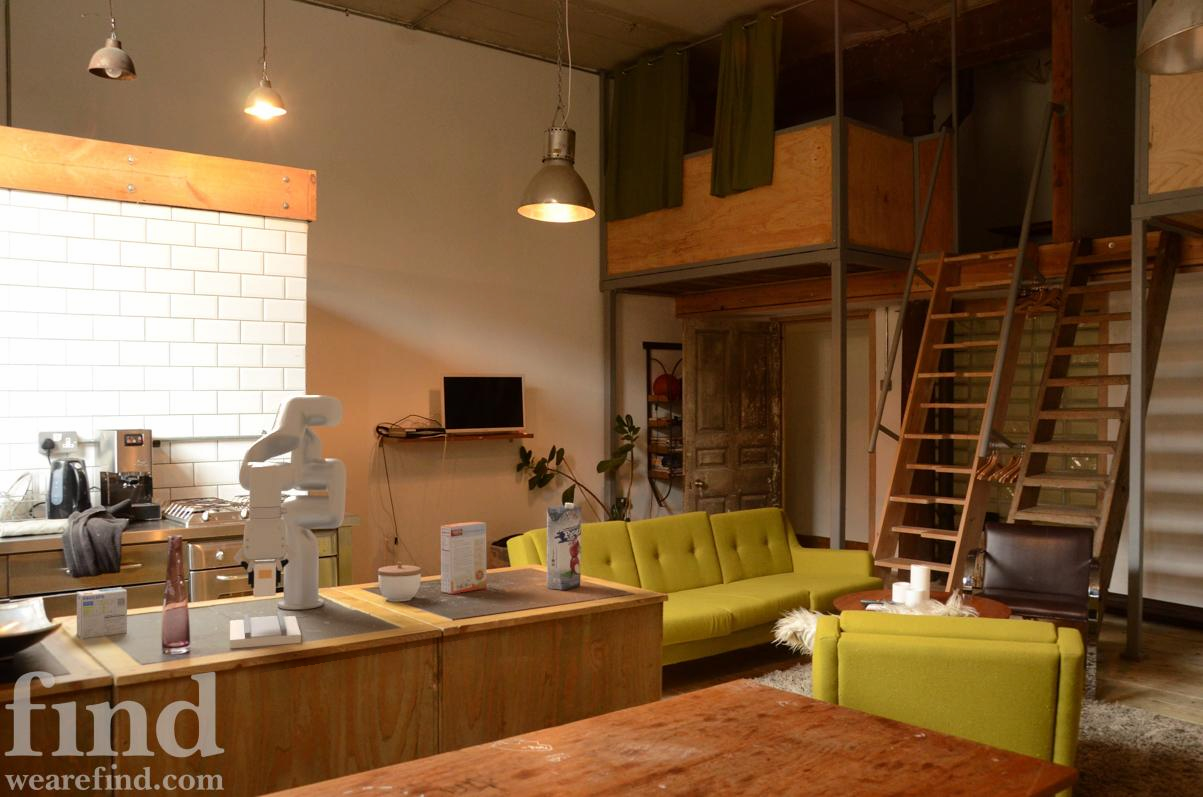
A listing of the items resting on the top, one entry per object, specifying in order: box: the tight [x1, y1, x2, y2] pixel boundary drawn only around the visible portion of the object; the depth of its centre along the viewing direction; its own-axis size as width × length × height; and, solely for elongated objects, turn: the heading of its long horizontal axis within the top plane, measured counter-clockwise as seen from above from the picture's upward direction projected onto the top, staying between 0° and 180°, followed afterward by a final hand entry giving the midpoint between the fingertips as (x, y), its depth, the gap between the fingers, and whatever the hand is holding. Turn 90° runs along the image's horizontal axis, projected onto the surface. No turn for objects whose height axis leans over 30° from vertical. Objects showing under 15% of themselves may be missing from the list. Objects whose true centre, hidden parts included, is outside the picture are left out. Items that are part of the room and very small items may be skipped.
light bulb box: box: [76, 586, 128, 639], centre depth 240 cm, size 11×7×11 cm, turn 129°
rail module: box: [252, 559, 277, 598], centre depth 238 cm, size 7×5×8 cm
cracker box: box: [440, 521, 487, 595], centre depth 298 cm, size 14×6×21 cm, turn 136°
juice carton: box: [546, 502, 582, 591], centre depth 304 cm, size 9×10×27 cm
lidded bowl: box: [377, 561, 422, 603], centre depth 284 cm, size 13×13×11 cm
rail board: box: [229, 611, 302, 649], centre depth 238 cm, size 22×16×3 cm
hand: (264, 585), depth 238 cm, fingers closed on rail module, 5 cm apart
